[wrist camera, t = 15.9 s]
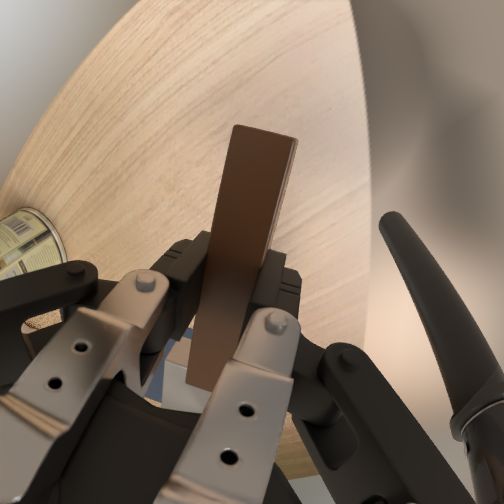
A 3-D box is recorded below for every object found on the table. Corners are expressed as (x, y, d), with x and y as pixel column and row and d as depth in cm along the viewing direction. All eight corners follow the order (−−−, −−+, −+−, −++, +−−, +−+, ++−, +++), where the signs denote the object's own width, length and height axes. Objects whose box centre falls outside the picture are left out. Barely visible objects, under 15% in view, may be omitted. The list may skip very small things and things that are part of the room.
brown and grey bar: (218, 120, 11) (190, 115, 8) (333, 149, 11) (342, 151, 8) (170, 424, 18) (153, 458, 15) (234, 445, 18) (224, 481, 15)
